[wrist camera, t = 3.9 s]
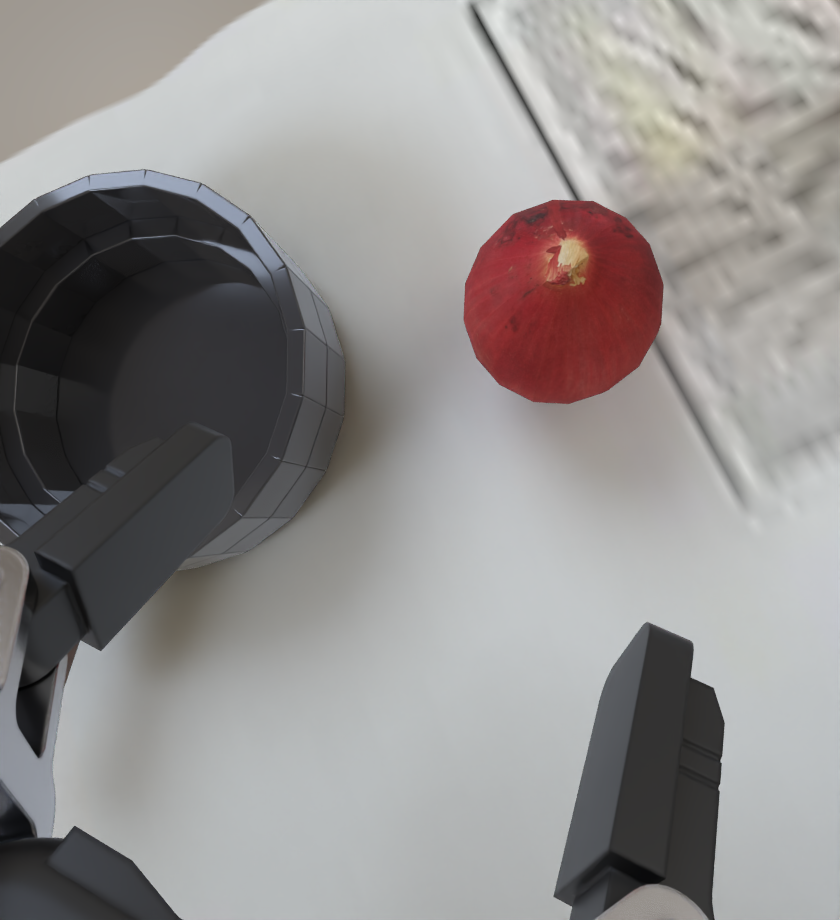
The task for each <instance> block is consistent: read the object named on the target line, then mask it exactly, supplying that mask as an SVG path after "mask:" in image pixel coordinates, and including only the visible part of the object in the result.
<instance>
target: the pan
mask: <svg viewBox="0 0 840 920" xmlns="http://www.w3.org/2000/svg"><path fill="white" fill-rule="evenodd" d="M344 405H345V361H344V355H343V352H342V349H341V346H340V342H339V339H338V336H337V333H336V329H335V326H334V323H333V320H332V316H331V313H330V310H329V308H328V306H327V305H326V303H325V302H324V301H323V299H322V298H321V297H320V295H319V294H318V292H317V291H316V290H315V288H314V287H313V286H312V284H311V283H310V281H309V280H308V279H307V277H306V276H305V274H304V273H303V272H302V270H301V269H300V268H299V267H298V265H297V264H296V263H295V262H294V261H293V260H292V259H291V258H290V257H289V256H288V255H287V254H286V253H285V252H284V251H283V250H282V249H281V247H280V246H279V245H278V244H277V243H276V242H275V241H274V240H273V239H272V238H271V237H270V236H269V235H268V234H267V233H266V232H265V231H264V230H263V228H262V227H261V226H260V225H259V224H258V223H257V222H256V221H255V220H254V219H253V218H252V217H251V216H250V215H249V214H247V213H246V212H244V211H243V210H241V209H240V208H238V207H237V206H236V205H234V204H233V203H231V202H230V201H228V200H227V199H225V198H224V197H222V196H221V195H219V194H218V193H216V192H215V191H213V190H212V189H210V188H209V187H208V186H206V185H204V184H202V183H199V182H195V181H191V180H187V179H183V178H179V177H175V176H171V175H167V174H163V173H159V172H155V171H151V170H145V169H144V170H133V171H123V172H113V173H102V174H92V175H90V176H86V177H83V178H81V179H79V180H76V181H74V182H72V183H69V184H67V185H65V186H63V187H60V188H58V189H56V190H53V191H51V192H49V193H47V194H44V195H42V196H40V197H37V198H36V199H34V200H32V201H31V202H30V203H29V204H28V205H27V206H25V207H24V208H23V209H22V210H21V211H19V212H18V213H17V214H16V215H15V216H13V217H12V218H11V219H10V220H9V221H8V222H6V223H5V224H4V225H3V226H2V227H0V542H1V543H2V544H3V545H4V546H5V545H6V544H8V543H10V542H12V541H13V540H14V539H16V538H17V537H19V536H20V535H21V534H22V533H24V532H25V531H26V530H27V529H29V528H30V527H31V526H32V525H33V524H35V523H36V522H37V521H38V520H40V519H41V518H42V517H43V516H45V515H46V514H47V513H48V512H50V511H51V510H52V509H53V508H54V507H56V506H57V505H58V504H59V503H61V502H62V501H63V500H64V499H66V498H67V497H68V496H69V495H71V494H72V493H73V492H74V491H75V490H77V489H78V488H79V487H80V486H82V485H83V484H84V485H86V484H87V483H88V480H89V479H90V478H91V477H93V476H94V475H95V474H96V473H98V472H99V471H100V470H101V469H102V470H104V469H105V468H106V465H108V464H109V463H110V462H111V461H112V460H114V459H115V458H116V457H117V456H119V455H120V454H121V453H122V452H124V451H125V450H126V449H127V448H129V447H132V446H134V445H136V444H139V443H141V442H144V441H146V440H149V439H151V438H153V437H156V436H157V437H159V438H162V439H164V440H166V439H167V438H168V437H169V436H171V435H172V434H173V433H174V432H175V431H177V430H178V429H179V428H180V427H181V426H183V425H184V424H186V423H188V422H195V423H198V424H200V425H202V426H205V427H207V428H209V429H211V430H214V431H216V432H218V433H221V434H223V435H225V436H227V437H229V439H230V440H231V444H232V458H233V473H234V489H235V493H234V498H233V502H232V505H231V507H230V509H229V511H228V513H227V515H226V516H225V517H224V519H223V520H222V521H221V522H220V524H219V525H218V526H217V527H216V528H215V529H214V530H213V531H212V532H211V533H210V534H209V535H208V536H207V538H206V539H205V540H204V541H203V542H202V543H201V544H200V545H199V546H198V547H197V548H196V549H195V550H194V551H193V553H192V554H191V555H190V556H189V557H188V558H187V559H186V560H185V561H184V562H183V563H182V564H181V565H180V567H179V568H178V569H177V570H176V571H178V570H185V569H192V568H198V567H202V566H205V565H208V564H211V563H214V562H217V561H220V560H223V559H226V558H229V557H232V556H235V555H238V554H241V553H244V552H247V551H248V550H251V549H252V548H254V547H255V546H256V545H258V544H259V543H260V542H262V541H263V540H264V539H266V538H267V537H268V536H270V535H271V534H272V533H274V532H275V531H276V530H278V529H279V528H280V527H282V526H283V525H284V524H286V523H287V522H288V521H290V520H291V519H292V518H293V517H294V516H295V515H296V513H297V512H298V510H299V509H300V508H301V506H302V505H303V503H304V502H305V501H306V499H307V498H308V496H309V495H310V494H311V492H312V491H313V489H314V488H315V487H316V485H317V484H318V482H319V481H320V479H321V478H322V477H323V475H324V474H325V472H326V471H325V470H327V468H328V465H329V462H330V459H331V456H332V453H333V450H334V446H335V443H336V440H337V437H338V434H339V431H340V428H341V425H342V422H343V419H344V417H343V416H344Z"/></svg>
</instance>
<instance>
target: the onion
mask: <svg viewBox="0 0 840 920" xmlns="http://www.w3.org/2000/svg"><path fill="white" fill-rule="evenodd" d="M662 302H663V282H662V279H661V276H660V273H659V270H658V267H657V264H656V261H655V258H654V255H653V253H652V250H651V247H650V244H649V243H648V242H647V241H646V240H645V239H644V237H643V236H642V235H641V234H640V233H639V232H638V231H637V230H636V229H635V227H634V226H633V225H632V224H631V223H630V222H629V221H628V220H627V219H626V218H625V217H623V216H621V215H619V214H617V213H615V212H613V211H611V210H609V209H607V208H605V207H603V206H602V205H600V204H598V203H596V202H594V201H568V200H552V201H549V202H546V203H543V204H540V205H538V206H535V207H532V208H529V209H526V210H524V211H521V212H518V213H515V214H513V215H512V216H511V217H510V218H509V219H508V220H507V221H506V222H505V223H504V224H503V225H502V226H501V227H500V228H499V229H498V230H497V231H496V232H495V233H494V234H493V235H492V236H491V237H490V239H489V240H488V241H487V242H486V243H485V244H484V245H483V246H482V247H481V248H480V250H479V253H478V255H477V257H476V260H475V262H474V264H473V267H472V269H471V271H470V274H469V276H468V278H467V281H466V283H465V302H464V322H465V327H466V329H467V332H468V335H469V338H470V341H471V344H472V346H473V349H474V352H475V355H476V358H477V359H478V360H479V361H480V363H481V364H482V365H483V366H484V367H485V368H486V370H487V371H488V372H489V373H490V374H491V375H492V376H493V378H494V379H495V380H496V381H497V382H498V383H499V385H501V386H503V387H505V388H507V389H509V390H511V391H513V392H515V393H517V394H519V395H521V396H523V397H525V398H527V399H529V400H531V401H533V402H544V403H562V404H570V403H573V402H576V401H579V400H582V399H585V398H588V397H591V396H594V395H597V394H600V393H603V392H605V391H607V390H609V389H610V388H612V387H613V386H614V385H615V384H617V383H618V382H619V381H621V380H622V379H623V378H625V377H626V376H627V375H628V374H630V373H631V372H632V371H634V370H635V369H636V368H637V367H639V365H640V364H641V362H642V360H643V358H644V356H645V355H646V353H647V351H648V349H649V348H650V346H651V344H652V342H653V340H654V339H655V337H656V335H657V333H658V331H659V328H660V325H661V318H662Z"/></svg>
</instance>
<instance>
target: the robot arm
mask: <svg viewBox="0 0 840 920" xmlns="http://www.w3.org/2000/svg"><path fill="white" fill-rule="evenodd" d="M234 493H235V489H234V473H233V458H232V444H231V440H230V439H229V437H227V436H225V435H223V434H221V433H218V432H216V431H214V430H211V429H209V428H207V427H205V426H202V425H200V424H198V423H195V422H188V423H186V424H184V425H183V426H181V427H180V428H179V429H178V430H177V431H175V432H174V433H173V434H172V435H171V436H169V437H168V438H167V439H166V440H164V439H162V438H159V437H157V436H156V437H153V438H151V439H149V440H146V441H144V442H141V443H139V444H136V445H134V446H132V447H129V448H127V449H126V450H125V451H124V452H122V453H121V454H120V455H119V456H117V457H116V458H115V459H114V460H112V461H111V462H110V463H109V464H108V465H106V468H105V469H104V470H102V469H101V470H100V471H99V472H98V473H96V474H95V475H94V476H93V477H91V478H90V479H89V480H88V483H87V484H86V485H84V484H83V485H82V486H80V487H79V488H78V489H77V490H75V491H74V492H73V493H72V494H71V495H69V496H68V497H67V498H66V499H64V500H63V501H62V502H61V503H59V504H58V505H57V506H56V507H54V508H53V509H52V510H51V511H50V512H48V513H47V514H46V515H45V516H43V517H42V518H41V519H40V520H38V521H37V522H36V523H35V524H33V525H32V526H31V527H30V528H29V529H27V530H26V531H25V532H24V533H22V534H21V535H20V536H19V537H17V538H16V539H14V540H13V541H12V542H10V543H8V544H6V545H5V546H2V545H0V920H182V919H180V918H179V917H178V916H177V915H176V914H175V913H174V911H173V910H172V909H171V908H170V906H169V905H168V904H167V903H166V902H165V900H164V899H163V898H162V897H161V895H160V894H159V893H158V892H157V891H156V889H155V888H154V887H153V886H152V884H151V883H150V882H149V881H148V879H147V878H146V877H145V876H144V875H143V873H142V872H141V871H140V870H139V868H138V867H137V866H136V865H135V864H134V862H133V861H132V860H130V859H129V858H127V857H125V856H124V855H122V854H120V853H119V852H117V851H115V850H114V849H112V848H110V847H109V846H107V845H105V844H104V843H102V842H100V841H99V840H97V839H95V838H94V837H92V836H91V835H89V834H87V833H86V832H84V831H82V830H81V829H79V828H77V827H76V826H74V827H73V828H72V829H71V831H70V832H69V833H68V835H67V836H66V837H65V838H64V839H62V838H52V833H53V826H54V818H55V785H54V779H53V757H54V750H55V743H56V736H57V730H58V723H59V716H60V710H61V703H62V696H63V689H64V683H65V676H66V669H67V661H68V657H67V654H68V653H69V652H70V651H71V649H72V648H73V647H74V646H75V645H76V644H77V643H78V642H79V641H80V640H81V641H83V642H85V643H87V644H89V645H91V646H92V647H94V648H96V649H98V650H100V651H101V650H102V649H103V648H104V647H105V646H106V645H107V644H108V643H109V642H110V641H111V640H112V639H113V638H114V636H115V635H116V634H117V633H118V632H119V631H120V630H121V629H122V628H123V627H124V626H125V625H126V624H127V622H128V621H129V620H130V619H131V618H132V617H133V616H134V615H135V614H136V613H137V612H138V611H139V610H140V608H141V607H142V606H143V605H144V604H145V603H146V602H147V601H148V600H149V599H150V598H151V597H152V596H153V594H154V593H155V592H156V591H157V590H158V589H159V588H160V587H161V586H162V585H163V584H164V583H165V582H166V581H167V579H168V578H169V577H170V576H171V575H172V574H173V573H174V572H175V571H176V570H177V569H178V568H179V567H180V565H181V564H182V563H183V562H184V561H185V560H186V559H187V558H188V557H189V556H190V555H191V554H192V553H193V551H194V550H195V549H196V548H197V547H198V546H199V545H200V544H201V543H202V542H203V541H204V540H205V539H206V538H207V536H208V535H209V534H210V533H211V532H212V531H213V530H214V529H215V528H216V527H217V526H218V525H219V524H220V522H221V521H222V520H223V519H224V517H225V516H226V515H227V513H228V511H229V509H230V507H231V505H232V502H233V498H234ZM693 651H694V649H693V643H692V642H691V641H690V640H687V639H685V638H683V637H681V636H678V635H676V634H674V633H671V632H669V631H667V630H665V629H662V628H660V627H658V626H655V625H653V624H651V623H649V622H646V623H645V624H644V625H643V626H642V627H641V629H640V630H639V631H638V633H637V634H636V635H635V637H634V638H633V640H632V641H631V642H630V644H629V645H628V647H627V648H626V649H625V651H624V652H623V653H622V655H621V656H620V658H619V659H618V660H617V662H616V663H615V665H614V666H613V668H612V669H611V671H610V673H609V675H608V678H607V680H606V682H605V685H604V687H603V690H602V693H601V697H600V701H599V705H598V709H597V713H596V718H595V722H594V726H593V730H592V735H591V739H590V743H589V747H588V752H587V756H586V760H585V764H584V769H583V773H582V777H581V782H580V786H579V790H578V794H577V799H576V803H575V807H574V811H573V816H572V820H571V824H570V828H569V833H568V837H567V841H566V845H565V850H564V854H563V858H562V862H561V867H560V871H559V875H558V880H557V884H556V888H555V892H554V897H555V898H557V899H559V900H561V901H563V902H564V903H566V904H568V905H570V906H572V911H571V916H570V920H715V919H714V914H713V906H712V888H713V875H714V861H715V847H716V834H717V820H718V806H719V792H720V791H719V790H718V787H719V785H720V779H721V765H722V763H720V759H721V757H722V751H723V738H724V724H725V723H724V720H723V716H722V713H721V710H720V707H719V704H718V701H717V697H716V694H715V691H714V688H713V687H710V686H708V685H706V684H704V683H701V682H699V681H697V680H695V679H692V678H690V677H691V669H692V661H693Z"/></svg>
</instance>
